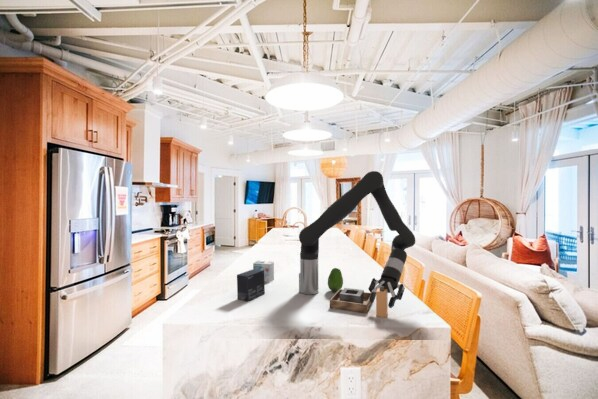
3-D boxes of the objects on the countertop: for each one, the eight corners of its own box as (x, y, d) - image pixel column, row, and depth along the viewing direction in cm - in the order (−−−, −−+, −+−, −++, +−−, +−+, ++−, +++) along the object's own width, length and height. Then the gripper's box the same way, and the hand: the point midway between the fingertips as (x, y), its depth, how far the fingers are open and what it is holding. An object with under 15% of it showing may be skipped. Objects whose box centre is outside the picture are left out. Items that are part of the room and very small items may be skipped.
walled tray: (329, 307, 128) (329, 295, 128) (339, 296, 142) (339, 284, 142) (366, 313, 122) (366, 299, 121) (372, 300, 136) (372, 288, 136)
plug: (376, 315, 119) (376, 287, 119) (377, 312, 123) (377, 284, 123) (386, 317, 117) (386, 288, 117) (387, 313, 121) (387, 285, 121)
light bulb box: (252, 281, 169) (252, 262, 169) (257, 278, 175) (257, 260, 175) (270, 282, 166) (269, 263, 166) (274, 279, 172) (274, 261, 172)
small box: (254, 291, 151) (254, 268, 151) (265, 293, 147) (264, 270, 147) (236, 299, 140) (236, 274, 139) (247, 302, 136) (247, 276, 136)
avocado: (342, 294, 146) (342, 270, 146) (327, 293, 147) (326, 269, 147) (343, 289, 154) (343, 266, 154) (328, 288, 155) (328, 265, 155)
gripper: (374, 263, 130) (361, 295, 122) (406, 268, 120) (394, 304, 112) (380, 272, 134) (368, 304, 126) (411, 278, 124) (400, 313, 116)
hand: (380, 304), depth 119 cm, fingers open, 7 cm apart
